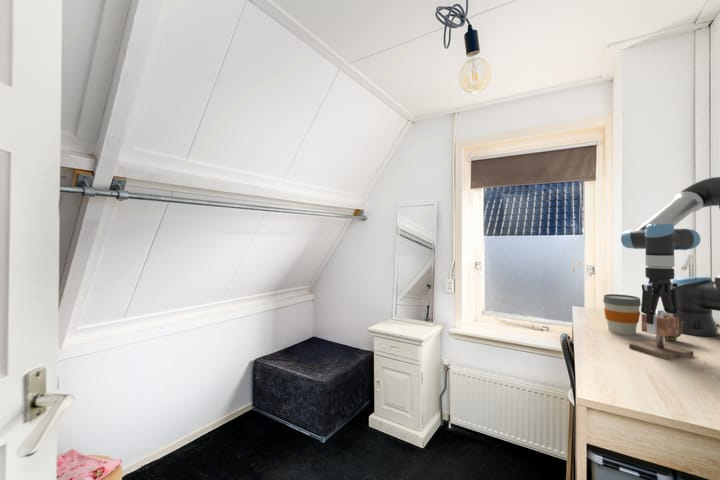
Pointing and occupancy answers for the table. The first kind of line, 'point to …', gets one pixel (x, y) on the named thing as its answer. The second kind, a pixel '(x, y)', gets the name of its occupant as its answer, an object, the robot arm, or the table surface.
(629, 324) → the reusable coffee cup
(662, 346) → the silver metal rod
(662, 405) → the table surface
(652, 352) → the brown square board
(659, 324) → the brown open box
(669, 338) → the cup
